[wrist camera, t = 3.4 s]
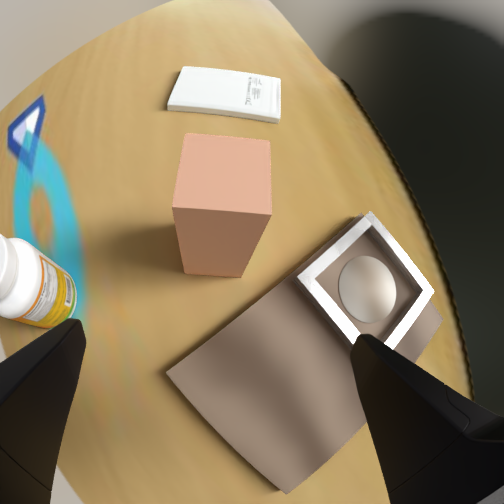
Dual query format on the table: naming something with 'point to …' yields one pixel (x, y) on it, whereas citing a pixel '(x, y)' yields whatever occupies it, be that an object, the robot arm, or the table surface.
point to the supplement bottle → (33, 286)
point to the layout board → (309, 352)
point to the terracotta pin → (221, 202)
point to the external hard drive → (226, 94)
